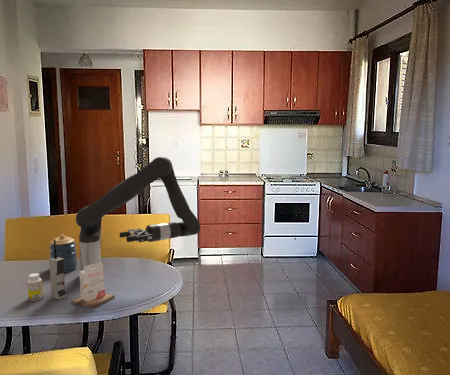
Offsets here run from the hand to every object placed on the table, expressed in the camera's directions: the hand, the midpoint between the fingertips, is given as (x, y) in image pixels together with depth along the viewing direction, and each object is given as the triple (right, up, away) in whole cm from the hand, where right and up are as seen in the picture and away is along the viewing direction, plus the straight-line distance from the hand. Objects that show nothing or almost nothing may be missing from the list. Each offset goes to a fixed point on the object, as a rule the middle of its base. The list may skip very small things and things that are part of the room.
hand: (123, 237), depth 184 cm
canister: (-38, -20, +33) cm, 54 cm away
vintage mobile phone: (-26, -25, -4) cm, 36 cm away
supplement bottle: (-35, -25, -5) cm, 43 cm away
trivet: (-11, -25, -7) cm, 28 cm away
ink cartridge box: (-11, -24, -7) cm, 27 cm away
